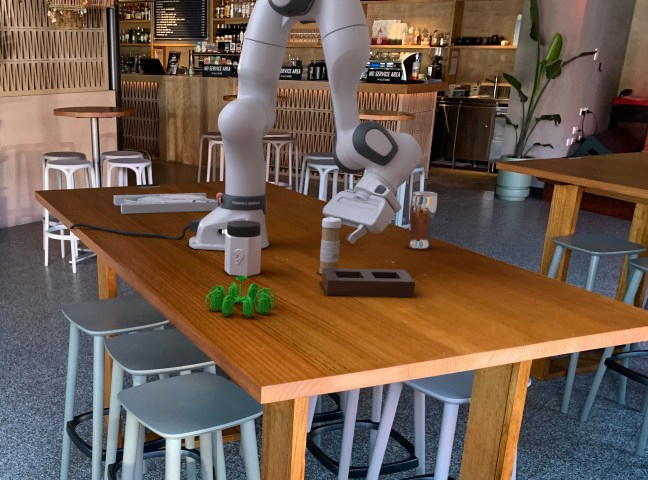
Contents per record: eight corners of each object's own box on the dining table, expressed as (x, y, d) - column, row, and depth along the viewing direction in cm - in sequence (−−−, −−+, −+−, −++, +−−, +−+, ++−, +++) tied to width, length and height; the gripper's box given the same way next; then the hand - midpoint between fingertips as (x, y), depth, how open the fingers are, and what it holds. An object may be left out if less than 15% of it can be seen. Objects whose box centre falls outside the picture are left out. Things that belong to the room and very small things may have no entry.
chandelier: (255, 324, 156) (256, 290, 154) (191, 312, 163) (191, 279, 161) (288, 306, 168) (290, 274, 165) (227, 295, 175) (227, 264, 173)
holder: (413, 297, 175) (415, 281, 174) (326, 295, 176) (328, 280, 174) (403, 284, 185) (404, 269, 184) (321, 282, 186) (322, 268, 184)
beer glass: (432, 251, 218) (439, 195, 212) (406, 249, 219) (412, 194, 213) (430, 245, 224) (437, 191, 218) (405, 244, 225) (411, 190, 219)
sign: (220, 210, 273) (206, 200, 291) (220, 201, 272) (206, 192, 290) (121, 213, 266) (113, 203, 284) (121, 204, 264) (113, 195, 282)
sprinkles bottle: (330, 270, 196) (334, 216, 191) (341, 275, 193) (345, 219, 188) (314, 272, 195) (318, 217, 189) (325, 276, 191) (329, 221, 186)
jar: (220, 274, 192) (221, 225, 187) (228, 267, 199) (230, 219, 195) (256, 277, 189) (258, 227, 185) (263, 269, 197) (265, 221, 192)
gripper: (338, 179, 198) (304, 221, 198) (394, 190, 182) (356, 237, 181) (351, 196, 202) (317, 238, 201) (406, 209, 185) (370, 254, 185)
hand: (336, 237), depth 191 cm, fingers open, 8 cm apart
